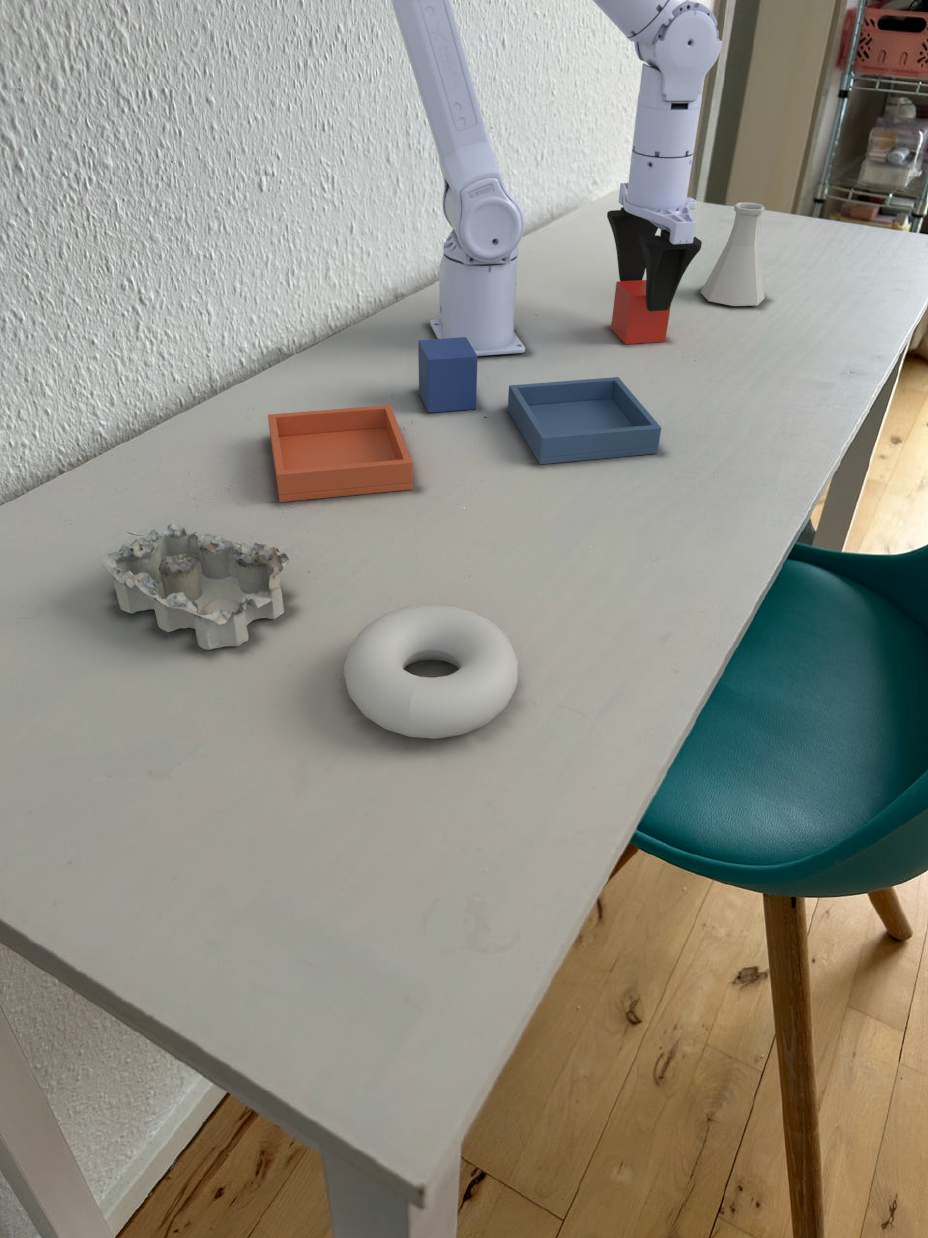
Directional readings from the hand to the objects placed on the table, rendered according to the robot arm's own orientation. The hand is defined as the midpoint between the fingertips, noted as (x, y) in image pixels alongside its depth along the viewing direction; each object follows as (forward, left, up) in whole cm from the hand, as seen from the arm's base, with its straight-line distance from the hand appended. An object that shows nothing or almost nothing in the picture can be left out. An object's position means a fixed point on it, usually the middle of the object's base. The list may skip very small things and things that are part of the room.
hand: (643, 296), depth 97 cm
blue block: (+12, -23, -4) cm, 26 cm away
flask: (-9, +15, -4) cm, 18 cm away
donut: (+50, -32, -4) cm, 60 cm away
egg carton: (+39, -45, -4) cm, 60 cm away
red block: (0, 0, -4) cm, 4 cm away
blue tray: (+20, -13, -4) cm, 24 cm away
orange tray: (+22, -34, -4) cm, 41 cm away
